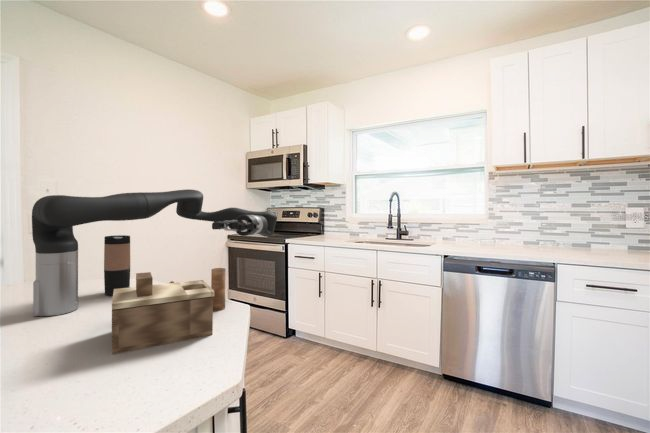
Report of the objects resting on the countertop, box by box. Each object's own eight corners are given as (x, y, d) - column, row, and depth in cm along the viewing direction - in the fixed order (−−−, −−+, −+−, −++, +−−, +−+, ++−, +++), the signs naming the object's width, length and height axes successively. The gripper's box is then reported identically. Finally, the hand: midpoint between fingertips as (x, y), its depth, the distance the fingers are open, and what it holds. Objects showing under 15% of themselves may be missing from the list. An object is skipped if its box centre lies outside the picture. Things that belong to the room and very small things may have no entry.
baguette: (212, 311, 91) (213, 270, 90) (209, 307, 94) (210, 268, 94) (226, 309, 93) (227, 269, 93) (223, 305, 96) (223, 267, 96)
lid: (111, 309, 63) (111, 284, 63) (113, 293, 75) (114, 272, 75) (214, 296, 74) (214, 274, 74) (202, 284, 86) (202, 265, 86)
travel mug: (116, 289, 112) (116, 235, 112) (135, 291, 111) (135, 235, 111) (98, 295, 105) (98, 236, 104) (118, 296, 103) (118, 237, 103)
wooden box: (111, 354, 63) (111, 311, 63) (113, 331, 75) (113, 294, 75) (212, 334, 74) (212, 297, 74) (200, 317, 86) (200, 284, 86)
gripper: (231, 214, 114) (205, 213, 98) (267, 215, 111) (246, 215, 95) (231, 234, 114) (204, 237, 98) (267, 236, 111) (246, 239, 95)
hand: (225, 226), depth 96 cm, fingers open, 8 cm apart
